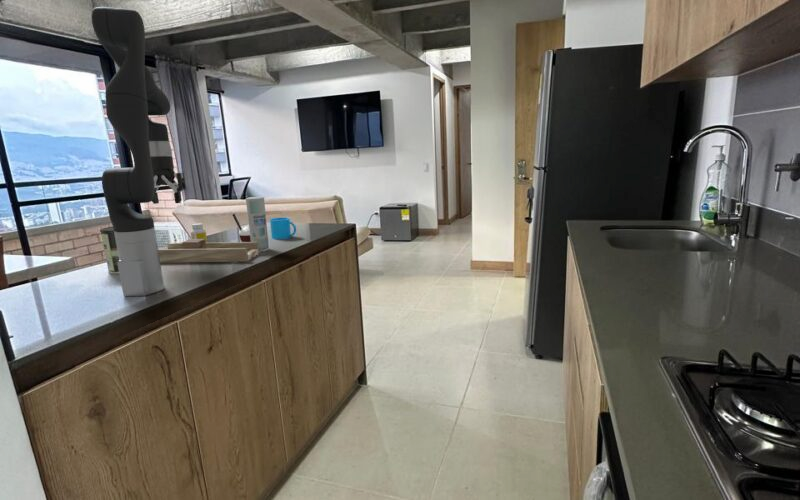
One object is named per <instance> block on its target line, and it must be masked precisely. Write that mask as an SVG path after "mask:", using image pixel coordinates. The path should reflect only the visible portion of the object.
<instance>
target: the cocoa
mask: <svg viewBox="0 0 800 500" xmlns="http://www.w3.org/2000/svg"><path fill="white" fill-rule="evenodd" d="M232 216H233V218H234V221H235V223H236V226H237V227H238V229H239V232H238V234H239V235H238V237H239V239H240V242H251V238H250V230H249V226H245V227H243V228H242V226H241V224H240V222H239V220H238V218H237V216H236V214H235V213H232Z"/></svg>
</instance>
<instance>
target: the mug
mask: <svg viewBox="0 0 800 500" xmlns="http://www.w3.org/2000/svg"><path fill="white" fill-rule="evenodd" d="M269 224H270V234H271V239H272V240H287V239H289V238H291V237H293V236H294V235H295V234H296V232H297V226H296V225H295V223H294V222H292V221H291V219H290V218H289V217H274V218H270V219H269ZM291 226H292V228H293V232H291Z"/></svg>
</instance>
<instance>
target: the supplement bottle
mask: <svg viewBox="0 0 800 500" xmlns="http://www.w3.org/2000/svg"><path fill="white" fill-rule="evenodd" d="M190 237H191V238H190V239H205V240H206V243H208V238H207V232H206V229H205V228H204V224H203V223H192V224H191V230H190Z"/></svg>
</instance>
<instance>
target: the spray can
mask: <svg viewBox="0 0 800 500" xmlns="http://www.w3.org/2000/svg"><path fill="white" fill-rule="evenodd" d="M245 204H246V212H247V221H248V227H249V230H250V238H251V242H258V244H259V253H261V251H263V252H266V250H267V251H269V250H270V247H269V236H268V226H267V225H268V223H267V216H266V214H267V213H266V206H265V205H266V204H265V196H252V197H251V196H250V197H246V198H245Z"/></svg>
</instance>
